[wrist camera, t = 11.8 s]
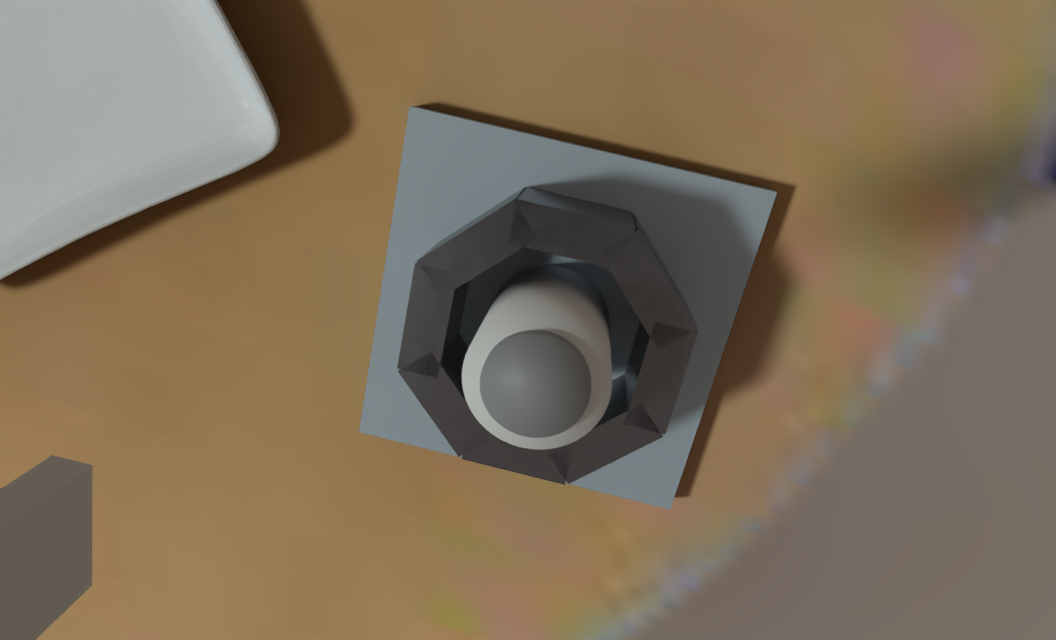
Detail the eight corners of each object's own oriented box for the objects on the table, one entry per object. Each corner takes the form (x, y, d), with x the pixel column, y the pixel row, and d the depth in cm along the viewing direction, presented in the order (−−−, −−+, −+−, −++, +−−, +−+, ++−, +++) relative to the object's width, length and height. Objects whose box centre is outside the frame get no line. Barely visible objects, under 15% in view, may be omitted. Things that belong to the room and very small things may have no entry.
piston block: (415, 106, 30) (347, 107, 22) (771, 189, 29) (836, 222, 21) (365, 422, 35) (295, 518, 27) (668, 498, 35) (688, 618, 27)
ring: (451, 168, 30) (429, 177, 26) (709, 229, 29) (725, 248, 25) (409, 401, 33) (384, 439, 29) (637, 458, 33) (642, 504, 29)
